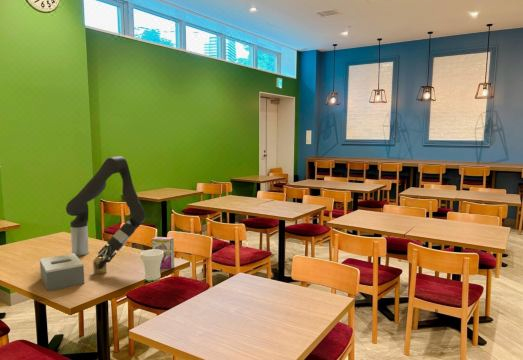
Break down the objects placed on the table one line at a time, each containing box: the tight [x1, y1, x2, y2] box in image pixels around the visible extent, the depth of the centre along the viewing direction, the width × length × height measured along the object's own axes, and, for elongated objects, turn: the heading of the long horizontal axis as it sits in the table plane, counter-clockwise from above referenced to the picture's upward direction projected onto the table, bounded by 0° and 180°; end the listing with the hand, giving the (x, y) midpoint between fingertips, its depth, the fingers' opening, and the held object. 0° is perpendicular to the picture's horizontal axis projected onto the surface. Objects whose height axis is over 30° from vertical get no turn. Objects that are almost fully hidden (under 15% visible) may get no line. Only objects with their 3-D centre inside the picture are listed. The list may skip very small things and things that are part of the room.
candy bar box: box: [151, 236, 175, 269], centre depth 211 cm, size 11×5×16 cm, turn 84°
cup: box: [140, 248, 164, 283], centre depth 193 cm, size 11×11×14 cm
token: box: [92, 256, 107, 276], centre depth 202 cm, size 2×6×8 cm, turn 127°
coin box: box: [39, 253, 85, 292], centre depth 191 cm, size 20×16×10 cm
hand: (97, 264), depth 201 cm, fingers open, 8 cm apart
